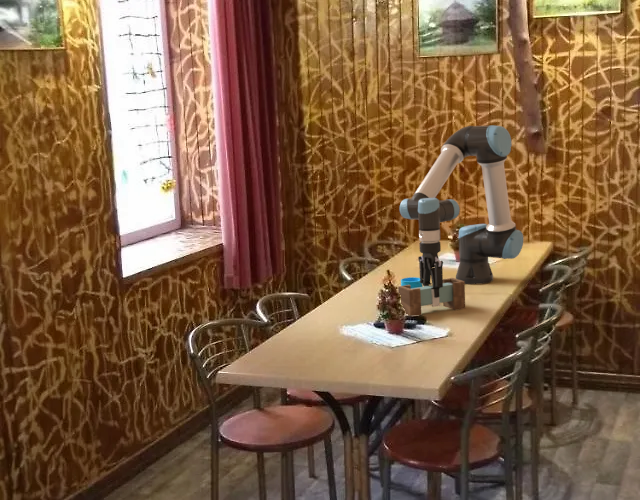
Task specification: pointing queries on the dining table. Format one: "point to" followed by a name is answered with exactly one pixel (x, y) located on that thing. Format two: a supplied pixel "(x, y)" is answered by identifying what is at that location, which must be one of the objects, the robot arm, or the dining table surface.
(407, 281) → the mug
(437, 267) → the robot arm
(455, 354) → the dining table surface
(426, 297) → the rail
